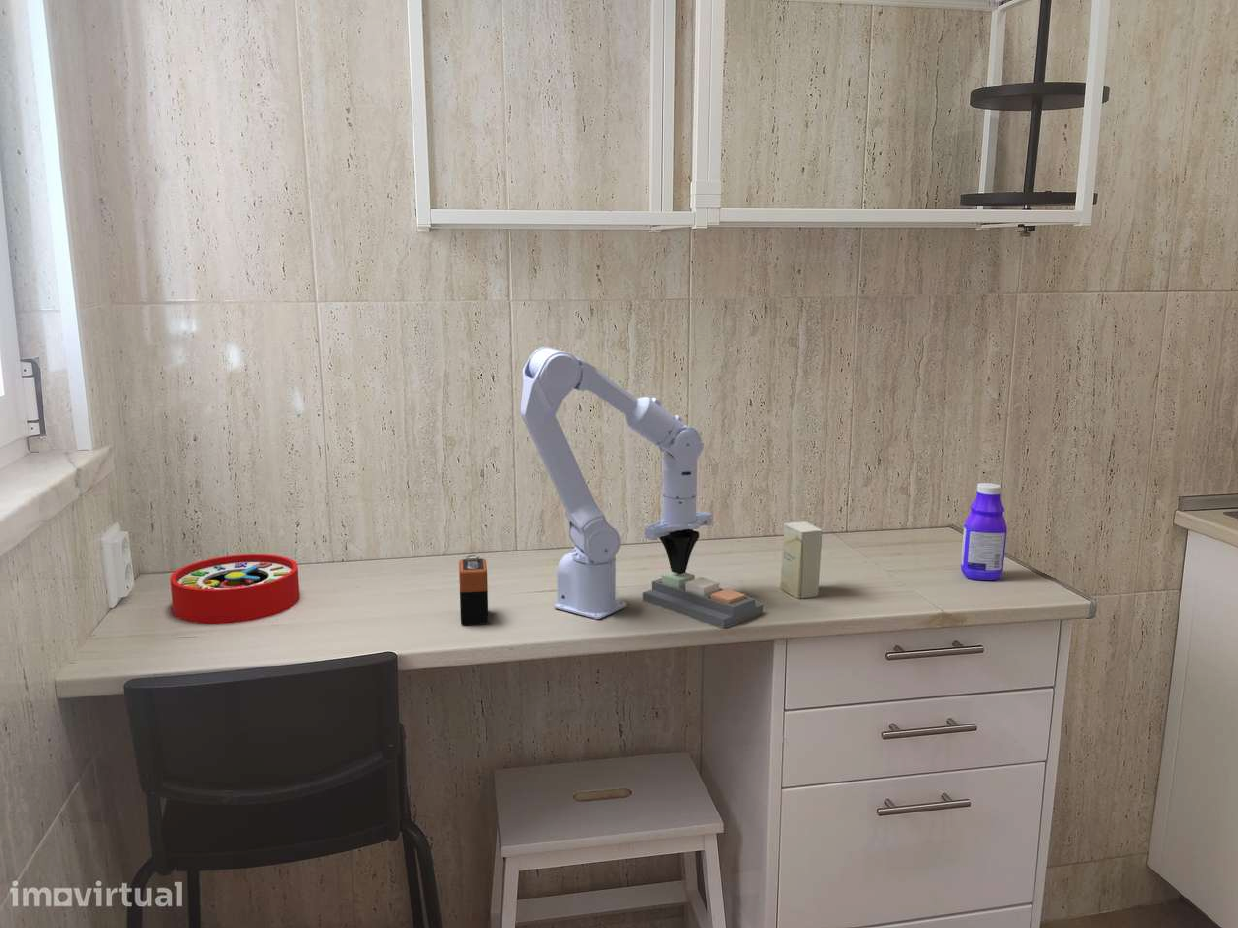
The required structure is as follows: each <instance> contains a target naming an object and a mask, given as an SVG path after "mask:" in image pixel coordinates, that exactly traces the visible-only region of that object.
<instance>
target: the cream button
mask: <svg viewBox="0 0 1238 928" xmlns="http://www.w3.org/2000/svg"><path fill="white" fill-rule="evenodd" d="M719 588H720V582H718V581H715V580H712V579H709V578H706V577H703V576H701V577H698V578H695V579H694V580H691V581H688V582H686V584H685V591H688V592H691V593H694V594H697V595H701V596H707V595H709V594H712V593H715V592H718V591H719Z"/></svg>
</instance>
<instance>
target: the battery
mask: <svg viewBox="0 0 1238 928" xmlns="http://www.w3.org/2000/svg"><path fill="white" fill-rule="evenodd" d="M458 566H459V567H458V573H459V574H458V575H459V576H458V577H459V603H460V604H459V605H460V606H459V608H460V623H461V625H462V626H473V625H474V626H475V625H486V624H489V594H488V593H489V591H488V589H489V587H488V569H487V568H488V567H487V559H485V558H482V557H481V558H480V556H479V555H477V554H467V555H466V556H465V558H464V559H463V558H461V559H460V560H459V562H458Z"/></svg>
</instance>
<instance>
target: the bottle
mask: <svg viewBox="0 0 1238 928" xmlns="http://www.w3.org/2000/svg"><path fill="white" fill-rule="evenodd" d="M1001 494H1002V485H1000V484H998V483H997V484H996V483H992V482H991V483H990V482H980V483H977V487H976V495H975V499H974V501H973V502H972V504H971V505H970V510H971V512H970V514H969V515H968V517H967V518H966V520H965V522H964V526H963V535H962V536H963V537H962V547H961V549H962V550H961V558H960V568H961V572H962V574H963V576H965V577H966V578H968V579H971V580H981V581H982V580H983V581H996V580H998V579H1000V577H1001V576H1002V573H1003V570H1004V561H1005V560H1004V558H1005V552H1006V551H1005V550H1006V549H1005V548H1006V539H1007V531H1008V528H1007V527H1008V526H1007V523H1006V521H1005V518H1004V515H1003V513H1005V508H1004V505H1003V504H1002V499H1001V498H1002V497H1001V496H1002V495H1001Z"/></svg>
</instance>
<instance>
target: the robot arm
mask: <svg viewBox="0 0 1238 928" xmlns="http://www.w3.org/2000/svg"><path fill="white" fill-rule="evenodd" d="M522 378H523V382H522V383H523V385H522V392H521V393H522V395H521V405H520V414H521V418H522V420H523V422H524V424H525V426H526V428H527V431H528V433H529V435H530V438H531V439H532V441H533V443H534V445H535V447H536V449H537V452H538V454H539V456H540V459H541V460H542V463H543V464H544V467H545V469H546V472H547V473H548V476H549V478H550V479H551V481H552V484H553V486H554V488H555V491H556V492H557V494H558V497H559V499H560V501H561V503H562V505H563V507H564V516H565V518H566V521H567V524H568V526H567V527H568V529H567V530H568V537H569V538H568V539H569V540H570V541H571V542H572V544H573V545H574V548H573V551H572V552H568V553H566V554H564V555H562V557H561V559H560V561H559V563H558V566H557V572H556V573H557V574H556V576H557V577H556V578H557V580H556V581H557V593H556V594H557V603H556V604H554V608H555V609H558V610H561V611H565V612H570V613H573V614H578V615H581V616H584V617H589V618H592V619H595V620H600V619H603V618H605V617H606V616H609V615H611V614H613V613H615V612H617V611H620V610H621V609H624V608H626V607H627V603H625V602H622V601H617V595H616V594H617V593H616V592H617V588H616V587H617V585H616V584H617V583H616V582H617V581H616V578H617V573H616V572H617V568H616V567H617V563H616V561H617V559H616V557H617V554H618V552H619V551H620V548H621V542H622V541H621V536H620V533H619V530H617V529H616V528H615V527H614V526H612V525H611V524H610V523H609V522H608V521H607V518H606V517H605V515H604V513H603V512H602V510H601V508H600V507H599V505H598V504H597V503H596V501H595V499H594V497H593V495H592V493H591V491H590V488H589V486H588V483H587V482H586V480H585V477H584V475H583V473H582V470H581V467H580V466H579V464H578V461H577V460H576V458H575V455H574V453H573V451H572V449H571V447H570V445H569V442H568V440H567V438H566V436H565V434H564V432H563V431H564V430H563V429H562V427H561V425H560V422H559V420H558V417H557V412H558V410H559V409H560V406H561V404H562V402H563V401H564V399H565V398H566V397H567V396H568V395H569V394H570V393H571V391H572V390H576V391H580V392H581V391H582V392H583V391H589V392H590V393H592V394H594V395H595V396H597V397H598V398H599V399H601V400H603V401H604V402H606V403H607V404H609V405H611V406H612V407H614V408H615V409H616V410H618V411H620V412H621V413H623V414H624V416H625V422H626V425H627V427H629V428H630V429H632V431H634V432H636V433H637V434H639V435H640V436H641V437H643V438H645V439H646V440H647V441H649V443H652V444H653V445H654V446H656V447H657V448H658V450H659V451H660V453H661V452H662V453H663V455H662V457H663V458H662V460H663V461H662V462H663V463H662V504H661V505H662V507H661V508H662V510H661V513H662V514H661V515H662V516H661V519H659V520H658V521H655V522H653V523H652V524H650V525H647V526H644V538H645V539H648V540H652V541H656V540H658V538H659V540H660V541H661V543H662V545H663V546H664V549H665V552H666V555H667V558H668V562H669V565H670V570H671V572H674V573H677V574H683V573H685V572H686V571H687V568H688V564H689V561H690V557H691V555H692V551H693V549H694V547H695V545H696V543H697V542H698V540H699V538H700V532H699V531H697V530H695V529H700V527H702V526H710V525H712V516H713V515H712V514H713V513H708V512H706V511H702V512H697V500H698V499H697V493H698V491H697V487H698V459H699V457H700V456H701V455H702V453H703V450H704V447H705V443H704V442H702V436H700V435H701V434H700V433H699V431H698V430H697V429H695V428H693V427H692V426H689V425H686V424H684V423H683V422H682V421H683V417H681V416H680V415H677V414H675V415H673V414H672V413H671V412H670V411H668V410H666V409H665V408H664V407H663V406H661V405H662V401H660V400H659V399H658V398H656V397H652V398H650V397H648V396H643V397H640V398H639V397H638V398H637V397H635V396H634V395H632V394H631V393H630V392H628V391H627V390H626V389H624V388H623V386H620V385H619V384H618V383H617V382H615V381H614V380H613V379H611V378H610V377H609V376H607V374H605V373H604V372H602V371H601V370H600V369H598V368H597V367H596V366H594V365H592V364H591V363H588V362H586V361H584V360H582V359H581V358H578V357H576V356H574V354H572V353H570V352H567V351H563V350H558V349H557V348H554V347H552V346H542V347H540V348H537V349H536V350H535V351H533V352H532V353H531V354H530V356H529V358H528V360H527V362H526V364H525V365H524V368H523V369H522ZM686 573H687V572H686Z"/></svg>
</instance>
